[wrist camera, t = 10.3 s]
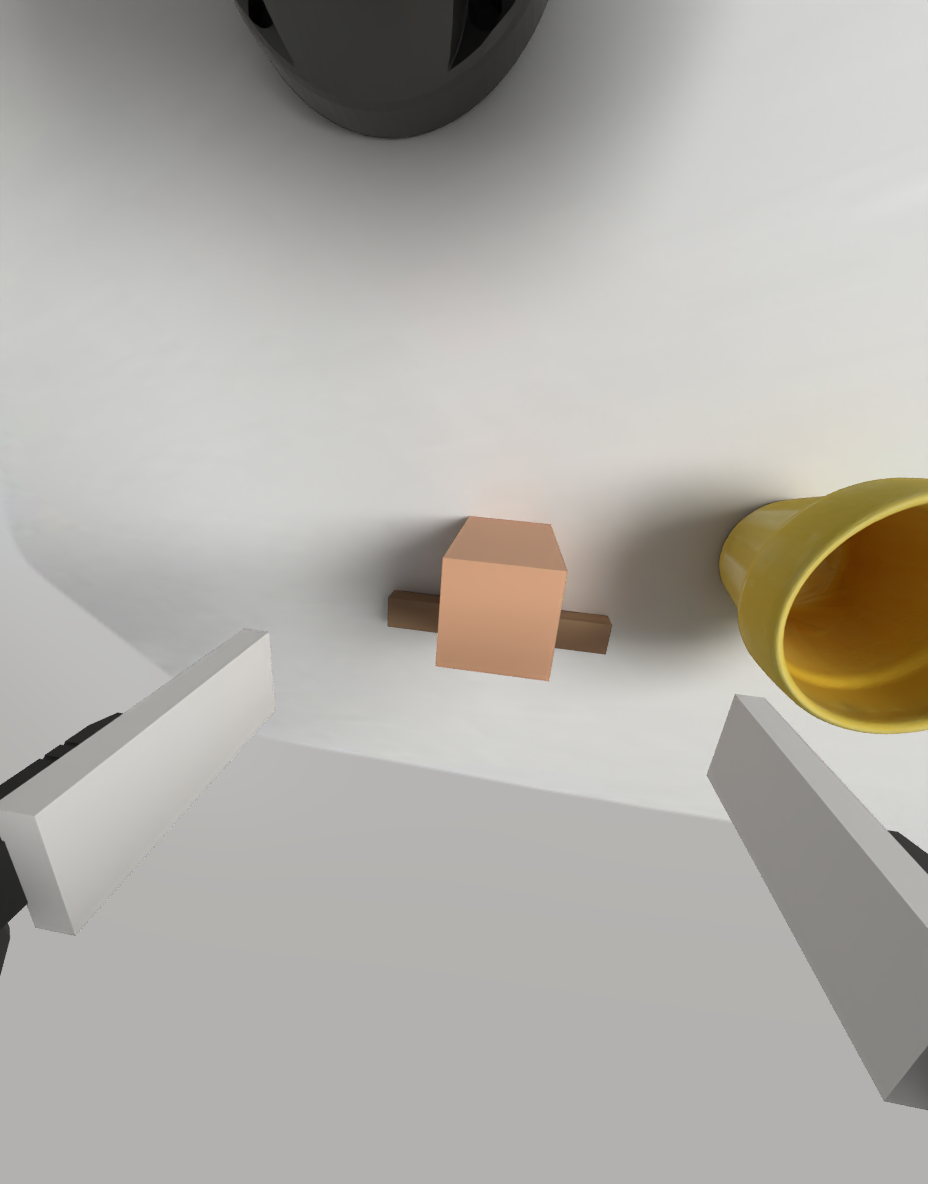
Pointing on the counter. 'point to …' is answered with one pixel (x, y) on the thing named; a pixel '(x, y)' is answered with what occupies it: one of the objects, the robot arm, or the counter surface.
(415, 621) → the wooden plank
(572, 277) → the counter surface
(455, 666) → the block
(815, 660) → the plant pot
